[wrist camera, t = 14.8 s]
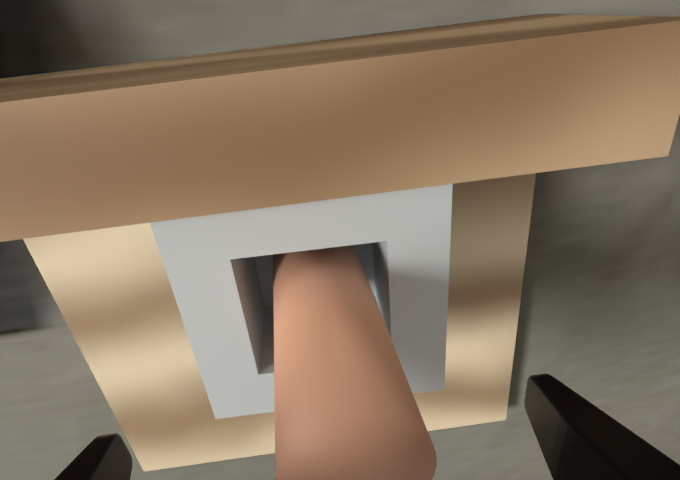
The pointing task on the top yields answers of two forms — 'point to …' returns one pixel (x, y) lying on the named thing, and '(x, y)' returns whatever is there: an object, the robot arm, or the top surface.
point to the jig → (316, 183)
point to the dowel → (340, 377)
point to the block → (301, 235)
